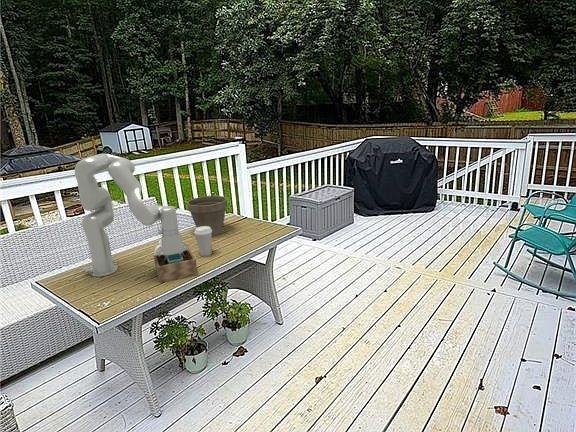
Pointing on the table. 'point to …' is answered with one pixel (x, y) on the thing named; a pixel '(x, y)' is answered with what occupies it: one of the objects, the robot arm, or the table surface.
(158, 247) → the mug
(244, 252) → the table surface
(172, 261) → the small crate
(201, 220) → the plant pot
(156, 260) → the big crate
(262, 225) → the table surface
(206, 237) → the coffee cup
